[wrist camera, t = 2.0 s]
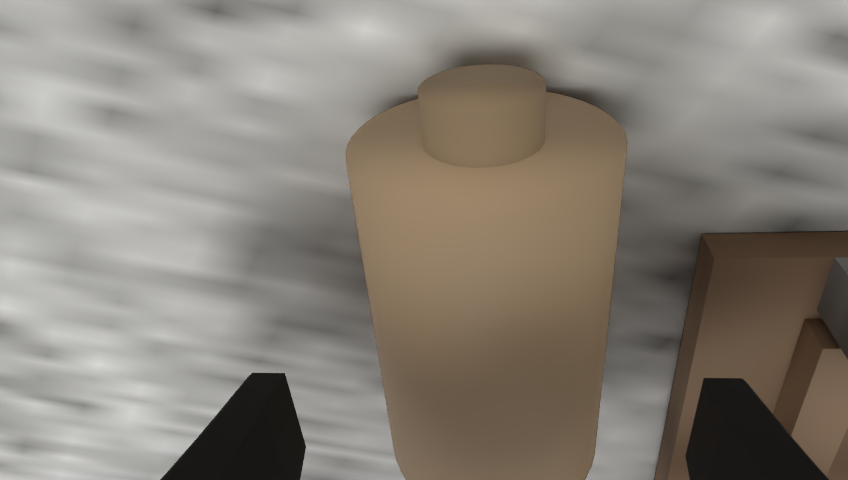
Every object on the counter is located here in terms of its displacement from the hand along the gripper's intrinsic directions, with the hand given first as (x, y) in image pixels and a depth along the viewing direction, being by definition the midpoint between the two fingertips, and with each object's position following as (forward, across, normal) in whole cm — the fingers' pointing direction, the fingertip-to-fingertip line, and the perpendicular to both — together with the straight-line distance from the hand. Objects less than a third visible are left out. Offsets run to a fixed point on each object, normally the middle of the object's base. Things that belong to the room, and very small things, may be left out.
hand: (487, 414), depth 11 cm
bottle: (+6, 0, 0) cm, 6 cm away
